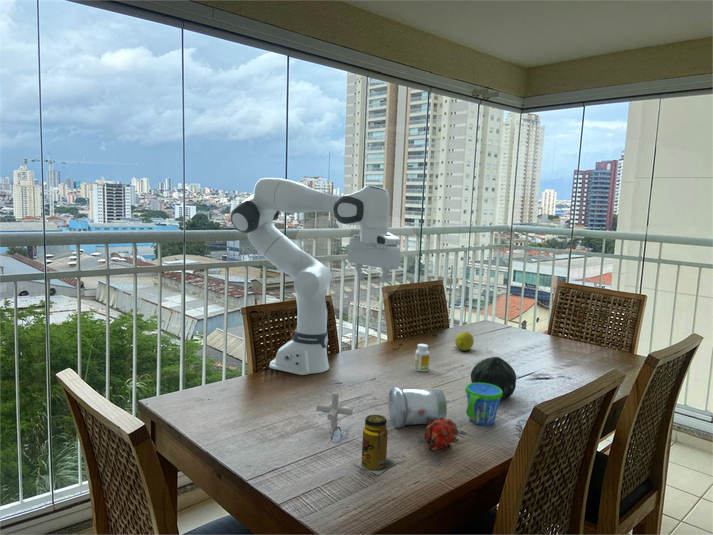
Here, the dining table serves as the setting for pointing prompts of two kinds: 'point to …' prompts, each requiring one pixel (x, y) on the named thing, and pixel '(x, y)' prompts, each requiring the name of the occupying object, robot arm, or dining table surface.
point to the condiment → (375, 445)
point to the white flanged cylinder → (416, 406)
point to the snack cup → (482, 402)
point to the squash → (495, 375)
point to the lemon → (464, 341)
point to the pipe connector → (334, 410)
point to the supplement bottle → (422, 358)
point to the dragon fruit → (441, 434)
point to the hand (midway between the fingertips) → (371, 279)
